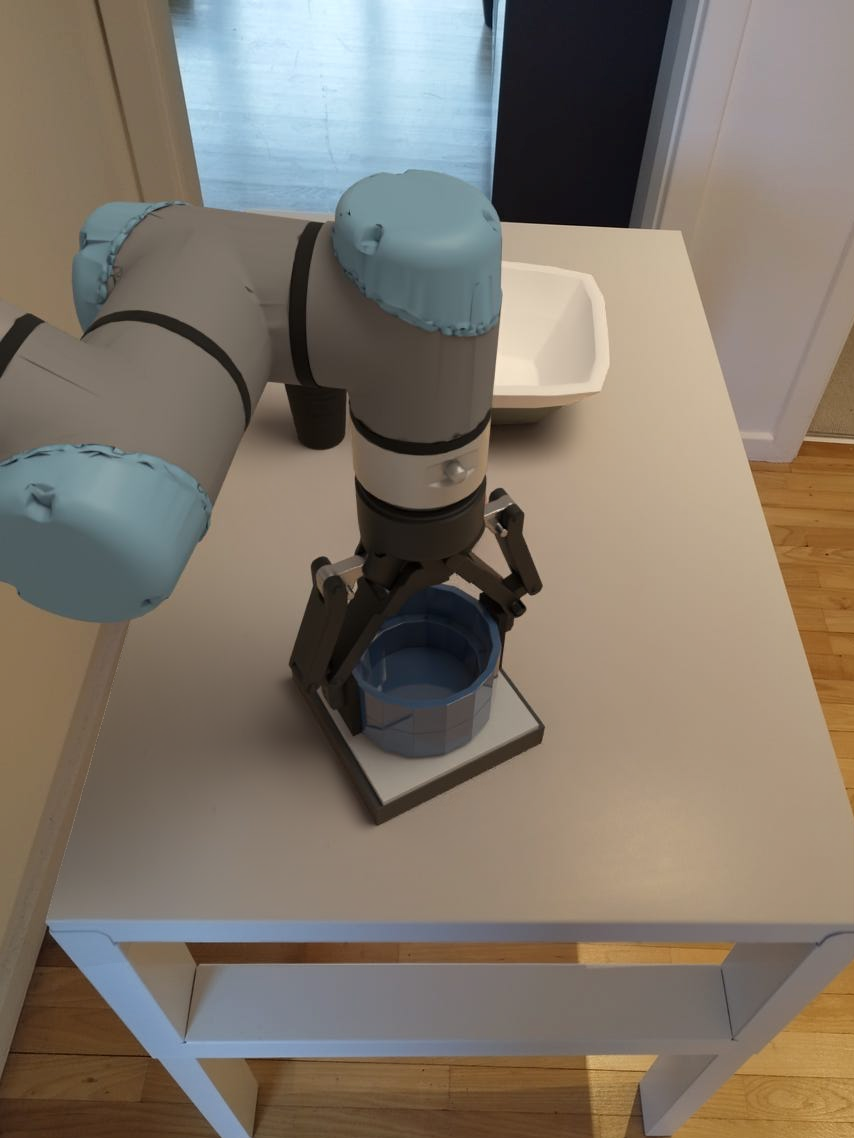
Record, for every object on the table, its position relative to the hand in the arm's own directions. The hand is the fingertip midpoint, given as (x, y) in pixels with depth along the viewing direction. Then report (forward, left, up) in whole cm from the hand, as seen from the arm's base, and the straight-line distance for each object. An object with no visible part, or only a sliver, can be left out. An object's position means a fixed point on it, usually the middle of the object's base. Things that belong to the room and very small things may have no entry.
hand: (420, 688), depth 69 cm
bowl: (-32, +26, -4) cm, 42 cm away
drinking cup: (-34, +7, -4) cm, 35 cm away
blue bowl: (0, 0, -1) cm, 1 cm away
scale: (-1, 0, -4) cm, 4 cm away
